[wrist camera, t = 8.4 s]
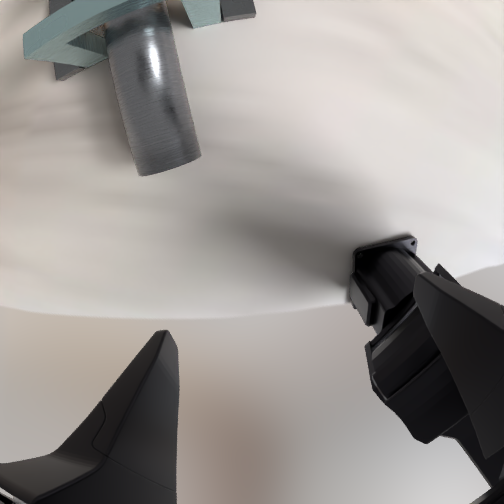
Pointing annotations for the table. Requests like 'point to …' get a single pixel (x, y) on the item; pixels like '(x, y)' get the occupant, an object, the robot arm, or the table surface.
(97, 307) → the table surface
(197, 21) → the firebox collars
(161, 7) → the tube
